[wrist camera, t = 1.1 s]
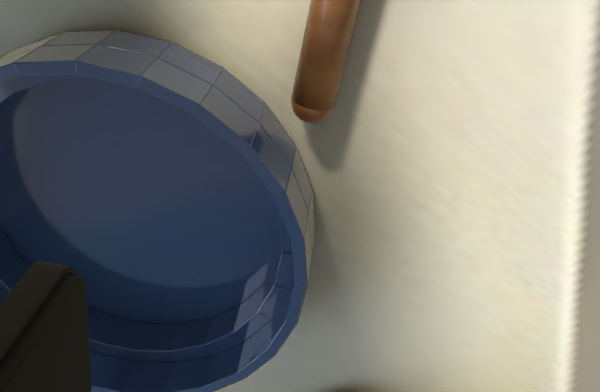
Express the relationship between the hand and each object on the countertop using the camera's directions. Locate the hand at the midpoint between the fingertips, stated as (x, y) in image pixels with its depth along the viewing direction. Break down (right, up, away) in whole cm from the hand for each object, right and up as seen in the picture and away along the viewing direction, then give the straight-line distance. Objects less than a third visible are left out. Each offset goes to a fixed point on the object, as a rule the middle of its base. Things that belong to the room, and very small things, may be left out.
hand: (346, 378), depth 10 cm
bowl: (-10, +3, +21) cm, 24 cm away
